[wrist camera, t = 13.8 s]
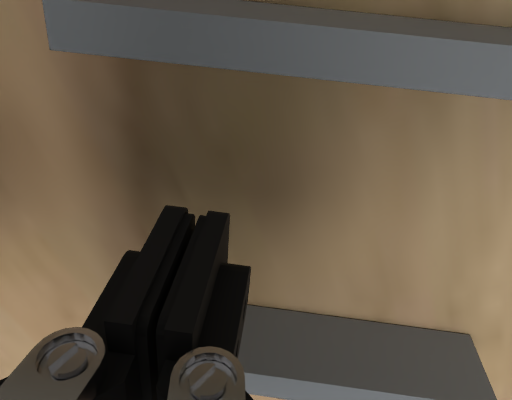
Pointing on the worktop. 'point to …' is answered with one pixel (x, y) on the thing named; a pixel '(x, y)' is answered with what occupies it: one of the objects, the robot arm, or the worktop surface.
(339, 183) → the worktop surface
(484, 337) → the worktop surface
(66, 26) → the pair of grey bars
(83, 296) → the worktop surface
